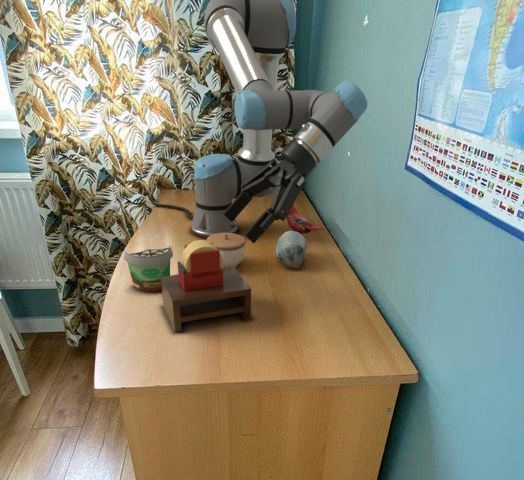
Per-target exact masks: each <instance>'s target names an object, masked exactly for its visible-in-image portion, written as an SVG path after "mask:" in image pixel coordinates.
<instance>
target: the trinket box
mask: <svg viewBox="0 0 524 480" xmlns="http://www.w3.org/2000/svg"><path fill="white" fill-rule="evenodd" d="M206 241H209V242H213V245H214V246H215V247H216V249H217V250H219V251H220V254H221V255H222V258H223V269H224V268H231V267H234V268H235V269H236V268H237V266H239V264H240V263H241V262H242V260H243V258H244V255H245V251H246V250H245V249H246V248H245V247H246V246H245V245H246V238H245V237H244V236H242V235H241V234H238V233H236V234H234V233H217V234H213V235H210V236H209V237H208V238H206Z"/></svg>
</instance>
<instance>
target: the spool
mask: <svg viewBox="0 0 524 480" xmlns="http://www.w3.org/2000/svg"><path fill="white" fill-rule="evenodd" d="M307 249H308V241H307V239H306V237H305V236H304V235H303V234H302V235H301V234H300V233H298V232H296V231H293V230H289V231H285V232H284V233H282V235H280V236H279V237H278V240H277V243H276V247H275V256H276V258H277V260H278V261H279V262H280V263H281V264H282V265H284V267H286V268H290V269H297V268H299V267H300V266H301V264H302V263H303V261H304V260H305V258H306V253H307Z"/></svg>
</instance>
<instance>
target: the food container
mask: <svg viewBox="0 0 524 480" xmlns="http://www.w3.org/2000/svg"><path fill="white" fill-rule="evenodd" d="M173 256H174V253H173V249H172V246H171V245H170V244H168V247H165V248H159V249H158V248H157V249H154V248H153V249H145V250H141V251H139V252H138V251H137V252H134V253H128V252H127V251H126V250H125V251H124V254H123V260H124V261H125V262H126V263H127V266H128V270H129V275H130V277H131V281H132V285H133V288H134V289H136V290H137V291H139V292H143V293H158V292H162V288H161V277H164V276H171V259H172V258H173Z"/></svg>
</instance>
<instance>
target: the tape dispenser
mask: <svg viewBox="0 0 524 480" xmlns="http://www.w3.org/2000/svg"><path fill="white" fill-rule="evenodd" d="M177 273H178V274H177V275H179V282H180V284H181V285H182V287H183V289H184V291H189V290H195V289H202V288H209V287H216V286H223V258H222V255H221V254H220V251H219V250H217V249H216V247H215V246H214V245H213V242H209V241H207V239H197V240H193V241H192V242H189V244H186V245H185V244H184V249H183V251H182V253H181V260H180V261H179V260H178V261H177Z"/></svg>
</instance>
